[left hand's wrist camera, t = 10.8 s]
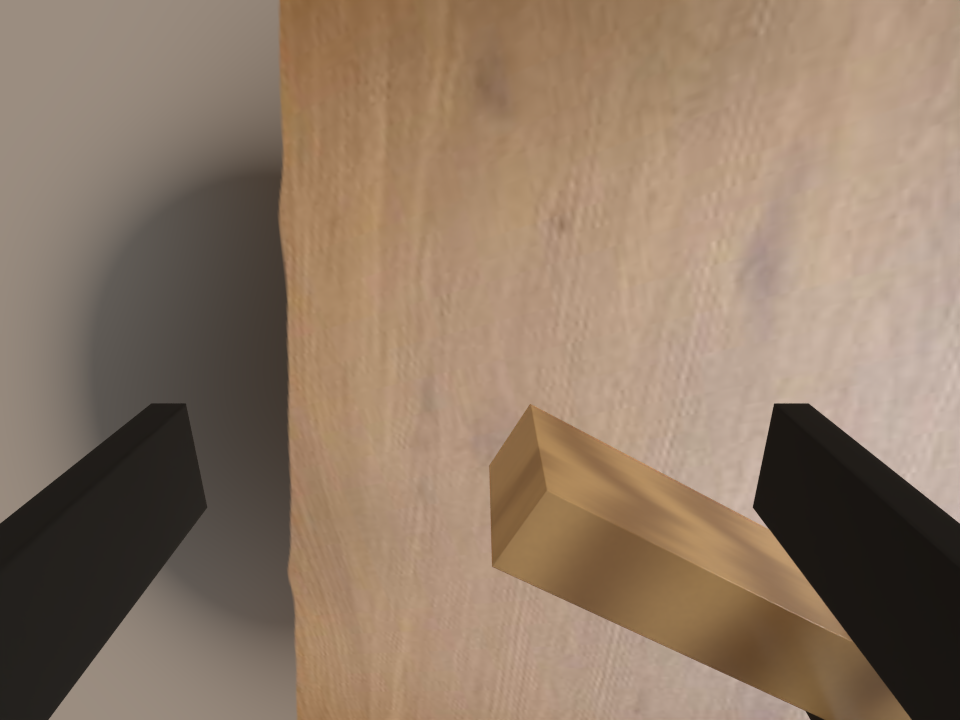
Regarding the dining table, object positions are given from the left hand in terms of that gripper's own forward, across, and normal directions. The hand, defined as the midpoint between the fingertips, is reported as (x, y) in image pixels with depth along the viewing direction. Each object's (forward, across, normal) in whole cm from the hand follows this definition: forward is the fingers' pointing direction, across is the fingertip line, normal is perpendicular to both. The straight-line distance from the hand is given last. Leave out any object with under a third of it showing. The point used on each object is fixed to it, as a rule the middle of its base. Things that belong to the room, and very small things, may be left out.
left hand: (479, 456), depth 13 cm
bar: (+16, +13, -15) cm, 25 cm away
